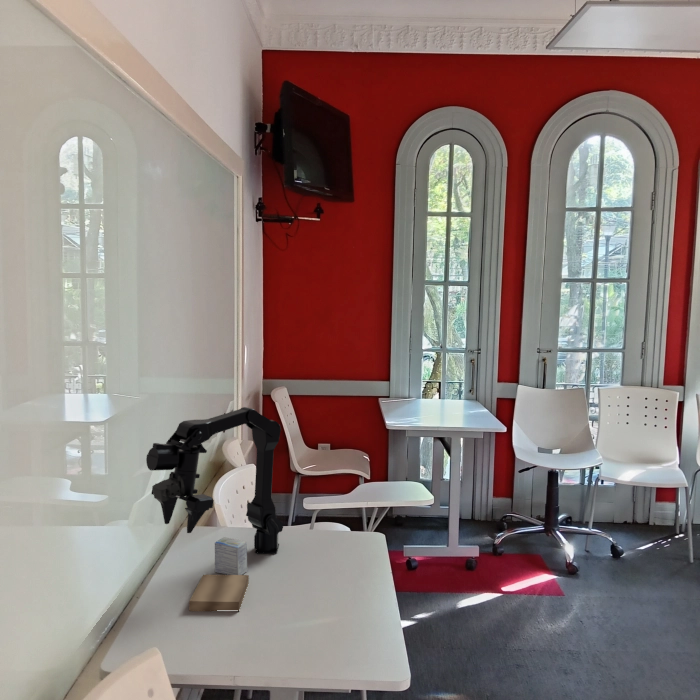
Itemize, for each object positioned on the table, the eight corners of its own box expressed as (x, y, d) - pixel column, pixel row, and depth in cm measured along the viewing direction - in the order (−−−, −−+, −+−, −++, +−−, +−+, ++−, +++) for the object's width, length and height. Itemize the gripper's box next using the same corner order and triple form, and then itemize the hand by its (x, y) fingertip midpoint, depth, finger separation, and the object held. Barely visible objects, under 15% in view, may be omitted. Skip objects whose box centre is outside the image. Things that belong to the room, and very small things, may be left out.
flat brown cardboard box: (248, 586, 159) (248, 575, 159) (239, 613, 145) (239, 601, 145) (203, 585, 159) (203, 574, 159) (189, 613, 145) (189, 601, 145)
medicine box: (247, 571, 167) (247, 541, 166) (238, 578, 163) (238, 547, 162) (224, 566, 170) (224, 536, 169) (214, 572, 166) (214, 542, 165)
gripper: (138, 463, 158) (130, 523, 158) (184, 478, 147) (175, 542, 147) (173, 461, 167) (165, 518, 167) (218, 475, 156) (210, 536, 156)
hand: (177, 528), depth 159 cm, fingers open, 9 cm apart
